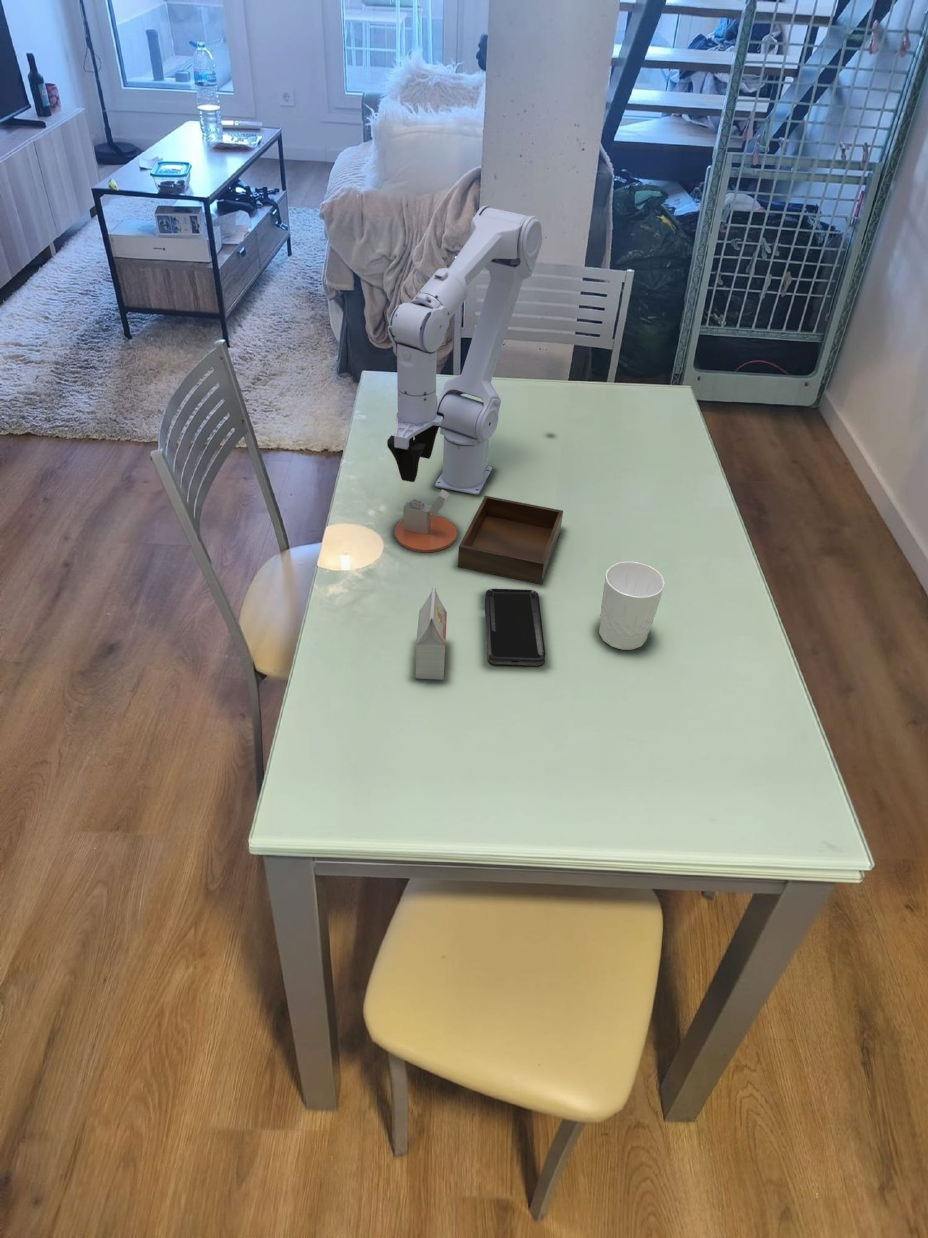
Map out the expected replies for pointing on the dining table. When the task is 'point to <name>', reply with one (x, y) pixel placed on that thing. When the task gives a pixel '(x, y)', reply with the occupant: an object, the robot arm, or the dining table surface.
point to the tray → (510, 539)
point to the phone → (514, 627)
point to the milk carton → (431, 639)
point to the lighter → (421, 513)
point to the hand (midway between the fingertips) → (416, 468)
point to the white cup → (629, 604)
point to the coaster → (427, 536)
